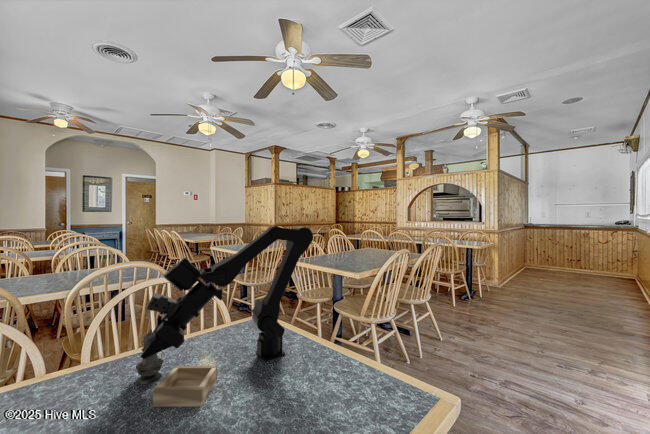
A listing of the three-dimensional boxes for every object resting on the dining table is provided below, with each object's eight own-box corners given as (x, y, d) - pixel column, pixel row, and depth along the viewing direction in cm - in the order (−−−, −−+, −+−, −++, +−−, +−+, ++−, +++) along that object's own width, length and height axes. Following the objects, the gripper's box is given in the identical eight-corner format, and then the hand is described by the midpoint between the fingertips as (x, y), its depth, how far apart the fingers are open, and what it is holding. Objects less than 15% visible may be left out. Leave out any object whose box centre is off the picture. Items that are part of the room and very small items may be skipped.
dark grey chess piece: (150, 386, 68) (151, 335, 68) (129, 383, 69) (130, 332, 70) (168, 373, 74) (169, 326, 74) (148, 370, 75) (149, 324, 75)
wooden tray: (175, 380, 71) (175, 366, 71) (217, 380, 71) (217, 365, 71) (152, 406, 61) (153, 389, 61) (201, 406, 61) (201, 389, 61)
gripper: (170, 275, 82) (122, 320, 77) (168, 290, 65) (107, 348, 60) (199, 300, 86) (155, 345, 80) (205, 320, 69) (150, 377, 64)
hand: (143, 352), depth 71 cm, fingers open, 6 cm apart
